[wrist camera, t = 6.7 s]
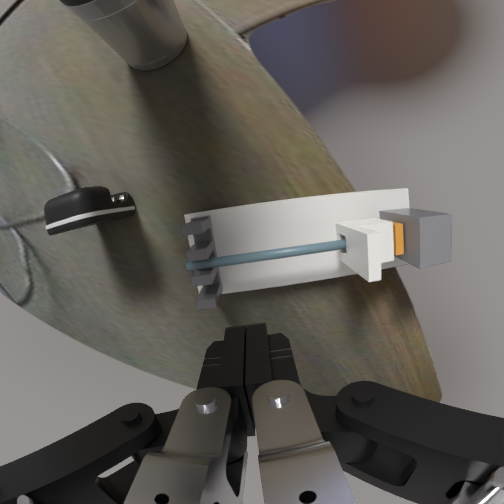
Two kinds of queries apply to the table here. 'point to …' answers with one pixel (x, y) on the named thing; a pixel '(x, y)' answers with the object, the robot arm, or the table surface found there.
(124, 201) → the battery charger
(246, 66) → the table surface
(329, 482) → the robot arm
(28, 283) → the table surface
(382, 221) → the sleeve
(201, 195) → the table surface
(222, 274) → the cable jig
